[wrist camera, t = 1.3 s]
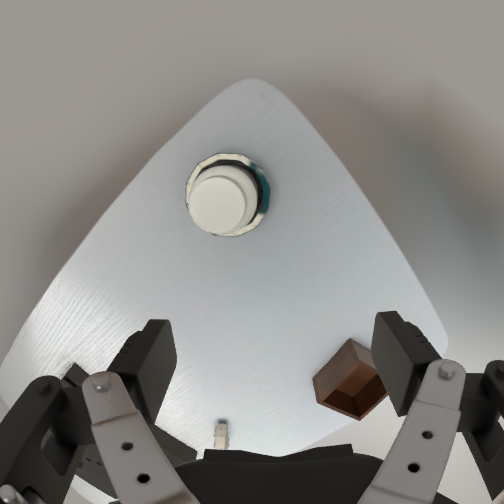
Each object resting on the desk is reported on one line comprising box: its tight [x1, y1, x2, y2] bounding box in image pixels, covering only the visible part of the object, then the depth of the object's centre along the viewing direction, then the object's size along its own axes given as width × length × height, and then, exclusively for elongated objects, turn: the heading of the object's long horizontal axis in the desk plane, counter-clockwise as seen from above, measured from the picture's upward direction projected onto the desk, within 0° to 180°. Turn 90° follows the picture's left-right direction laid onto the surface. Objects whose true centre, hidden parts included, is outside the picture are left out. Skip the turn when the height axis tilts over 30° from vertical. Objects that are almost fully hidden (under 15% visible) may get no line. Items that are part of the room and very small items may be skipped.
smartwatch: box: [214, 423, 229, 450], centre depth 38 cm, size 4×2×4 cm, turn 178°
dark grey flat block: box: [41, 363, 197, 499], centre depth 42 cm, size 23×4×28 cm
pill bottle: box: [189, 164, 258, 234], centre depth 26 cm, size 5×5×10 cm
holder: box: [312, 339, 388, 421], centre depth 35 cm, size 7×7×4 cm
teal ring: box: [186, 153, 270, 237], centre depth 29 cm, size 7×7×4 cm
